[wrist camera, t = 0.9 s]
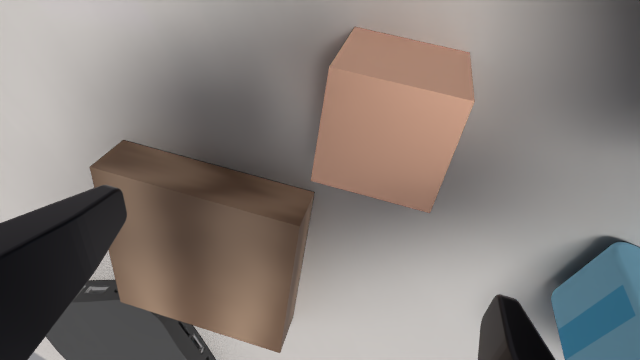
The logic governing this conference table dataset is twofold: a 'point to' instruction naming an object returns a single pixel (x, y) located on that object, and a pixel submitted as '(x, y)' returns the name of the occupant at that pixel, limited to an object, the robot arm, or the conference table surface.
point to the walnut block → (207, 243)
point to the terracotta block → (392, 117)
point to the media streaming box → (121, 330)
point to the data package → (601, 307)
